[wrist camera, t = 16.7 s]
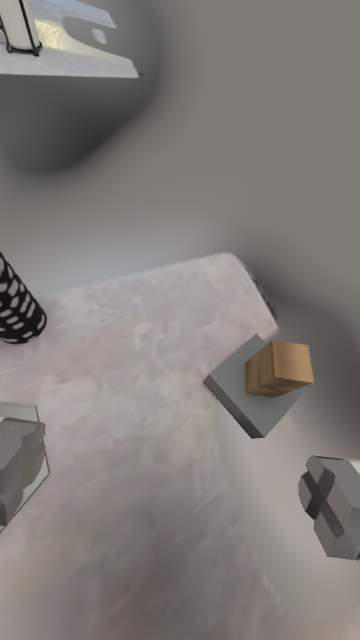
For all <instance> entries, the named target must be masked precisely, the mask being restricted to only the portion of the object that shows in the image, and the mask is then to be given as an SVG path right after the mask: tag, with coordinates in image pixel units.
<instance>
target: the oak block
mask: <svg viewBox="0 0 360 640" xmlns="http://www.w3.org/2000/svg"><path fill="white" fill-rule="evenodd" d="M312 383H314V379H313V373H312V367H311V360H310V354H309V348H308V345H302V344H295V343H289V342H282V341H276V340H271V341H270V342H269V343H268V344H267V345H266V346H264V347H263V348H262V349H261V350H260V351H259V352H257V353H256V354H255V355H254V356H253V357H251V358H250V359H249V360H248V361H247V362H246V363H245V393H247V394H254V395H261V396H268V397H278V396H281V395H284V394H286V393H289V392H291V391H294V390H297V389H299V388H302V387H304V386H307V385H309V384H312Z"/></svg>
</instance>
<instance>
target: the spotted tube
mask: <svg viewBox="0 0 360 640" xmlns="http://www.w3.org/2000/svg"><path fill="white" fill-rule="evenodd" d="M46 322H47V317H46V314H45V312H44V310H43V309H42V308H41V306H40V305H39V304H38V302H37V301H36V299H35V298H34V297H33V295H32V294H31V293H30V291H29V290H28V289H27V287H26V286H25V284H24V283H23V282H22V281H21V279H20V278H19V276H18V275H17V274H16V272H15V271H14V270H13V268H12V267H11V265H10V264H9V263H8V261H7V260H6V259H5V257H4V256H3V255H2V253H1V252H0V338H1V339H2V340H3V341H5V342H7V343H11V344H22V343H26V342H29V341H31V340H33V339H34V338H36V337H37V336H38V335H40V334H41V332H42V331H43V330H44V328H45V326H46Z"/></svg>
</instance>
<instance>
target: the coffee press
mask: <svg viewBox="0 0 360 640" xmlns="http://www.w3.org/2000/svg"><path fill="white" fill-rule="evenodd" d="M0 29H2V31H3V33H4V36H5V39H6V41H7V46H6V49H7V51H8V52H10V53H12V52H13V49H14V48H18V49H26V50H28V49H30V50H31V51H32V52H33V54H34V56H39V53H38V51H37V49H36V48H37V47H38V46H39V43H40V46H39V47H42V43H41V42H40V41H39V38H38V34H37V30H36V26H35V22H34V18H33V14H32V10H31V6H30V2H29V0H0ZM9 44H10V45H11V46H13V47H11V49H10V51H9Z"/></svg>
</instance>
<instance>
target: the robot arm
mask: <svg viewBox="0 0 360 640" xmlns="http://www.w3.org/2000/svg"><path fill="white" fill-rule="evenodd" d="M44 435H45V424H44V423H42V422H36V421H30V420H23V419H16V418H9V417H8V418H6V417H0V526H7V525H8V523H9V522H10V520H11V518H12V517H13V515H14V514H15V512H16V510H17V509H18V507H19V505H20V504H21V502H22V500H23V489H25V488H26V487H28V486H29V485H31V484H32V483H33V482H34V480H35V479H36V477H37V475H38V474H39V471H40V469H41V466H42V464H43V461H44V456H45V445H44V444H43V442H42V441H41V439H42V438H43V436H44ZM306 467H307V469H308V471H307V472H306V473H304V474H303V475H302V476H301V478H300V481H299V484H298V488H299V497H300V501H301V504H302V505H303V508H304V510H305V512H306V513H307V514H308V515H309V516H310V517H311V518H312V519H314V530H315V532H316V535H317V537H318V538H319V540H320V542H321V544H322V547H323V549H324V551H325V553H326V554H327V556H328V557H335V558H342V559H350V560H357V561H358V563H359V564H360V461H359V460H351V459H340V458H331V457H322V456H314V455H312V456H311V457H310V458H308V460H307V463H306Z"/></svg>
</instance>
